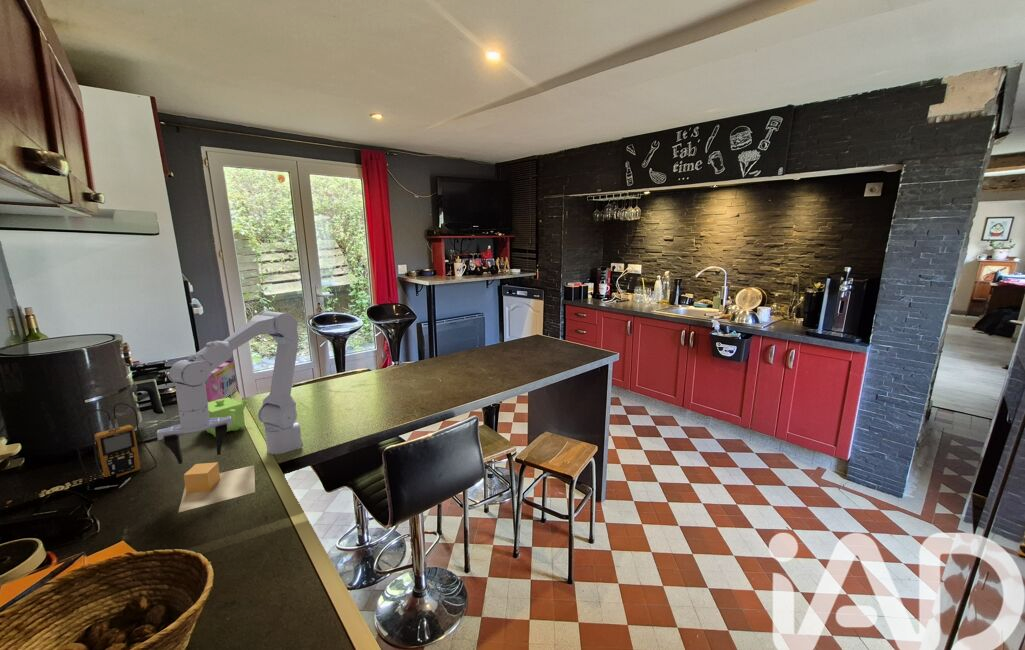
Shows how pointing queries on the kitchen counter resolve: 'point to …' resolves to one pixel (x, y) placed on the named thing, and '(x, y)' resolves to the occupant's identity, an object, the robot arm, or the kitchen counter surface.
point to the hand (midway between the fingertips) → (200, 457)
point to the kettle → (227, 412)
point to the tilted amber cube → (202, 477)
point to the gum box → (221, 382)
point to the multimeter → (116, 450)
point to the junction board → (222, 489)
